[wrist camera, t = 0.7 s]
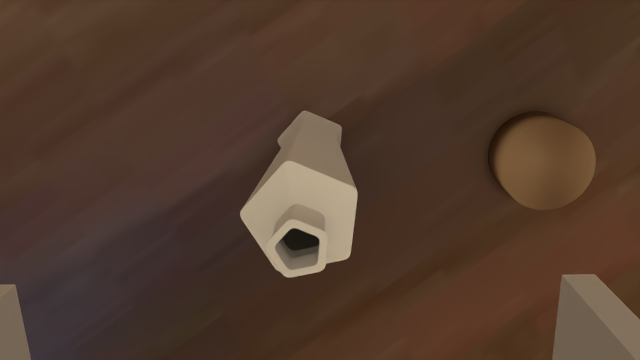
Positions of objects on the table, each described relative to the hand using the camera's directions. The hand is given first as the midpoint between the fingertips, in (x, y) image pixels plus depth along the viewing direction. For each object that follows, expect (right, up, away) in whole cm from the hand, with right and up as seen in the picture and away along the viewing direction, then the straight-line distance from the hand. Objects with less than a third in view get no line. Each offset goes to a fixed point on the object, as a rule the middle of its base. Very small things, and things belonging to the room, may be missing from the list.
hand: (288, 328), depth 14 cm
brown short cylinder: (+13, +5, +20) cm, 24 cm away
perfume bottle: (0, +6, +20) cm, 21 cm away
